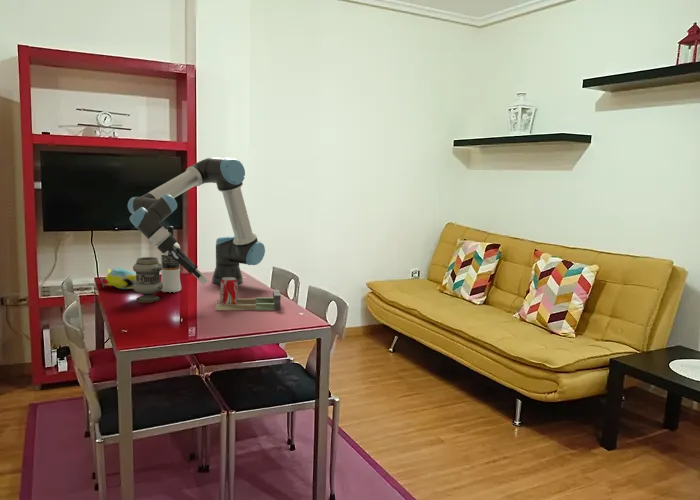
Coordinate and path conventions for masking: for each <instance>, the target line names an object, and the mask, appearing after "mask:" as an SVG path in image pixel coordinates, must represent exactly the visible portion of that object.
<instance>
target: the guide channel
mask: <svg viewBox="0 0 700 500" xmlns="http://www.w3.org/2000/svg"><path fill="white" fill-rule="evenodd" d="M281 299H282V298H281V292H280V289H273V290H272V297H261V296H260V297H255V298H237V304H220V298H217V299H216V304H215V311H277V310H276V309H280V310H281Z"/></svg>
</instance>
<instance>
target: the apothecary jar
mask: <svg viewBox="0 0 700 500" xmlns="http://www.w3.org/2000/svg"><path fill="white" fill-rule="evenodd" d="M132 269H133V271H134V273H135V274H136V283H135V284H134V285H133V289H132V290H133V291H134V292H136V293H137V294H141V295H140V296H138V297H136V299H135V300H136V302H139V303H154V301H155V302H159V301H161V297H160V296H157V295H155V294H157V293H159V292H162V291H161V290H162V289H163V284H162V283H161V275H160V272H161V270H162V263H160V261H159V258H158V257H154V256H146V257H145V256H144V257H143V256H141V257H138V258H137V259H136V262H135V263H134V264H133V266H132ZM158 300H159V301H158Z"/></svg>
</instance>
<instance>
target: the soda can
mask: <svg viewBox="0 0 700 500" xmlns="http://www.w3.org/2000/svg"><path fill="white" fill-rule="evenodd" d="M238 286H239V283H238V284H237V281H236V278H234V277H224V278H222V281H221V283H220V284H219V299H220V304H237V299H238V290H239V289H238Z"/></svg>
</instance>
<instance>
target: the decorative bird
mask: <svg viewBox="0 0 700 500" xmlns="http://www.w3.org/2000/svg"><path fill="white" fill-rule="evenodd" d="M107 271H108V273H107V275H106V277H102V276H101V275H99V277H100V281H101V283H102V287H103V289H104V288H105V286H113V287H115V288H117V289H120V290H131V289H132V290H134V289H133V285H134V284H135V283H136V272H132V271H129V270H126V269H124V268H120V267H115V268H112V270H111V269H110V268H108V270H107ZM103 280H106V281H107V283H104V282H103Z"/></svg>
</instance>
